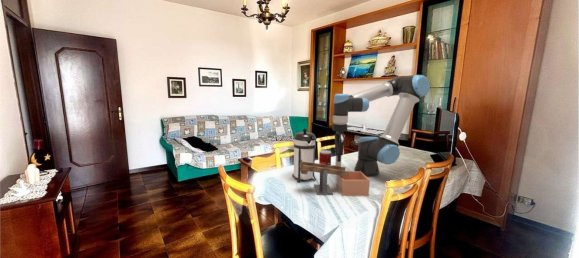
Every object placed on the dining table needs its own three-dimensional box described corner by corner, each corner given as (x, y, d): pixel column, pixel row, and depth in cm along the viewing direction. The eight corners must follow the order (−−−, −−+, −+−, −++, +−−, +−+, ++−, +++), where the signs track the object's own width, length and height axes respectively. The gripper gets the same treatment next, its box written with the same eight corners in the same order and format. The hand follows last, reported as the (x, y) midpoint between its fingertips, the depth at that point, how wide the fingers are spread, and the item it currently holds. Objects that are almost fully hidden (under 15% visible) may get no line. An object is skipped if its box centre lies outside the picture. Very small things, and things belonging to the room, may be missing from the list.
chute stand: (316, 194, 119) (317, 170, 117) (313, 186, 130) (314, 163, 128) (332, 194, 119) (333, 170, 117) (328, 186, 130) (329, 163, 128)
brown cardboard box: (359, 185, 132) (360, 171, 130) (368, 195, 119) (369, 180, 117) (336, 185, 131) (336, 171, 130) (342, 195, 118) (342, 180, 117)
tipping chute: (300, 173, 119) (302, 163, 118) (298, 165, 132) (300, 156, 131) (347, 180, 120) (349, 169, 119) (341, 171, 133) (342, 162, 132)
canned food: (328, 170, 157) (328, 153, 155) (317, 167, 161) (317, 152, 159) (332, 167, 163) (333, 151, 161) (321, 165, 167) (322, 149, 166)
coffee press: (321, 177, 144) (323, 127, 139) (308, 185, 130) (310, 131, 126) (297, 171, 153) (298, 125, 148) (282, 178, 140) (283, 128, 135)
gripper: (330, 121, 132) (328, 163, 136) (335, 125, 119) (333, 170, 123) (343, 121, 132) (341, 163, 136) (350, 125, 119) (348, 170, 123)
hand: (338, 166), depth 129 cm, fingers closed
